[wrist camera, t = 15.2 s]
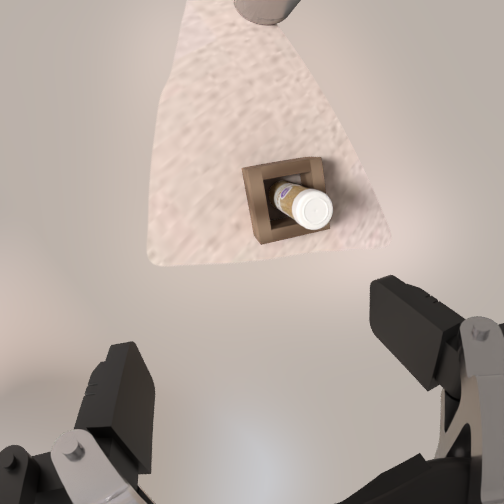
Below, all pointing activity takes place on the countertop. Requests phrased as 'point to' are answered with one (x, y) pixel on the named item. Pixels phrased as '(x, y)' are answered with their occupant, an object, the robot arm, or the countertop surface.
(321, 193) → the sprinkles bottle
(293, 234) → the frame
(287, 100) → the countertop surface
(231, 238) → the countertop surface
